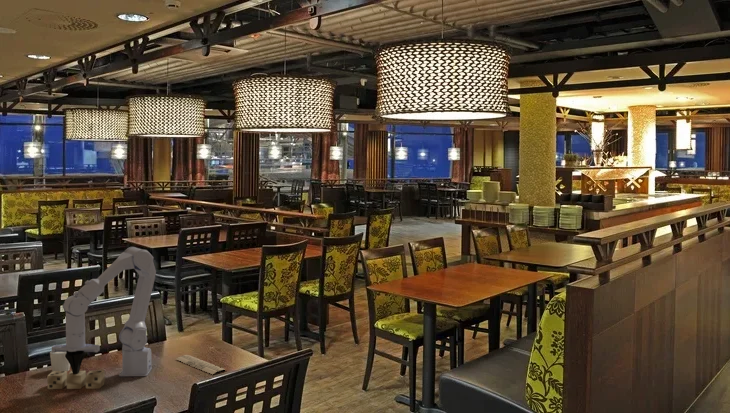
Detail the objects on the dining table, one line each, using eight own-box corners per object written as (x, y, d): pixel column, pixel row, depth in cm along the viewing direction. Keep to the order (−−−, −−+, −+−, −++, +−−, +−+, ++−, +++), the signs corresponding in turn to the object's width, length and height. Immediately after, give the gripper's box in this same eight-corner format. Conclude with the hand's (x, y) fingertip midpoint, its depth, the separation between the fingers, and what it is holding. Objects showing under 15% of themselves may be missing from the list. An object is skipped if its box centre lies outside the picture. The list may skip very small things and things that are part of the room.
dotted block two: (104, 383, 207) (104, 370, 207) (100, 388, 203) (99, 374, 203) (90, 383, 207) (90, 370, 207) (85, 388, 202) (85, 375, 202)
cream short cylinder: (63, 374, 215) (62, 354, 215) (45, 372, 217) (45, 352, 216) (75, 367, 222) (75, 348, 221) (59, 366, 223) (58, 347, 223)
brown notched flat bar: (227, 373, 221) (227, 368, 221) (210, 378, 216) (210, 373, 216) (189, 358, 237) (189, 353, 237) (173, 362, 232) (173, 357, 231)
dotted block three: (67, 384, 206) (67, 370, 206) (61, 389, 202) (61, 375, 201) (53, 384, 206) (52, 370, 206) (47, 389, 201) (47, 375, 201)
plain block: (86, 383, 207) (85, 370, 207) (81, 388, 202) (80, 375, 202) (72, 384, 206) (71, 370, 206) (66, 389, 202) (66, 375, 202)
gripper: (47, 336, 198) (48, 377, 199) (94, 336, 200) (94, 377, 201) (56, 330, 205) (56, 370, 206) (101, 330, 207) (102, 369, 208)
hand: (76, 373), depth 204 cm, fingers closed, pressing on plain block
